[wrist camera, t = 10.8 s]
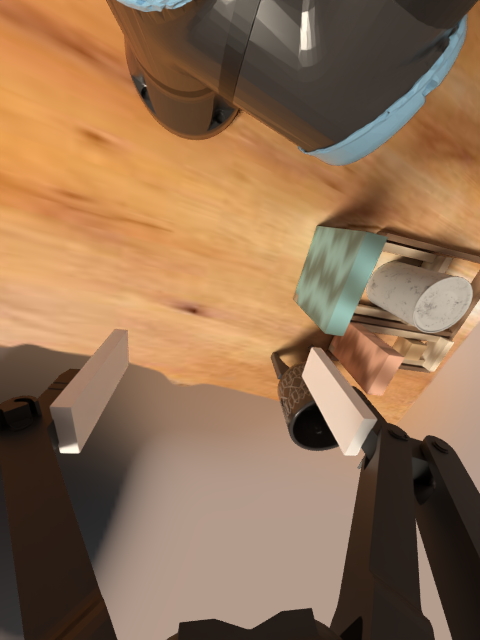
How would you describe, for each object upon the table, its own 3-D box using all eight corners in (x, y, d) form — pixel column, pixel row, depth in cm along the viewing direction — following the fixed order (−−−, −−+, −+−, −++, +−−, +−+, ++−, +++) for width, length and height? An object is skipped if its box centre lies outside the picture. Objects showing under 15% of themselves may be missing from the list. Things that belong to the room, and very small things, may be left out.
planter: (321, 376, 56) (364, 442, 40) (269, 387, 55) (292, 458, 39) (320, 331, 50) (370, 386, 34) (263, 342, 50) (286, 403, 34)
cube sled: (341, 317, 49) (389, 355, 36) (438, 333, 54) (510, 372, 40) (328, 348, 52) (366, 393, 39) (420, 361, 57) (482, 405, 44)
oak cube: (399, 334, 53) (412, 343, 49) (413, 337, 54) (427, 346, 50) (390, 349, 54) (403, 358, 51) (404, 351, 55) (418, 361, 52)
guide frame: (378, 231, 42) (387, 232, 40) (490, 260, 47) (504, 263, 45) (325, 353, 53) (330, 359, 50) (421, 366, 58) (429, 372, 55)
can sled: (317, 225, 40) (366, 231, 27) (434, 254, 45) (524, 271, 32) (293, 299, 46) (324, 333, 33) (399, 318, 50) (464, 354, 37)
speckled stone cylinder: (391, 251, 44) (450, 264, 33) (420, 276, 47) (484, 296, 36) (357, 292, 47) (401, 316, 36) (386, 313, 50) (436, 341, 39)
